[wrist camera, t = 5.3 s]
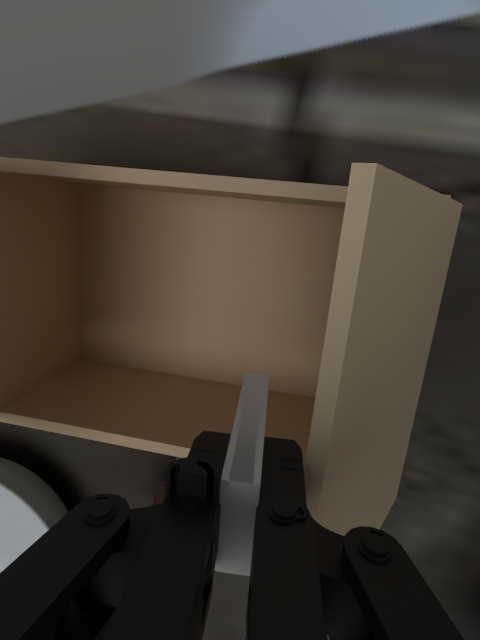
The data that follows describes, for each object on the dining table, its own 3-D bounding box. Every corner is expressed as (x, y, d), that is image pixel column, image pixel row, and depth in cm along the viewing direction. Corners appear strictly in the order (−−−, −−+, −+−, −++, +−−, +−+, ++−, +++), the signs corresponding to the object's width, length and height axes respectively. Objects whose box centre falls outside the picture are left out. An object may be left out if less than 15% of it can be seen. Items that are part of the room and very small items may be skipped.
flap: (386, 493, 25) (396, 498, 25) (269, 691, 14) (285, 704, 14) (449, 203, 21) (462, 204, 20) (351, 163, 10) (377, 163, 9)
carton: (364, 410, 37) (384, 498, 25) (78, 362, 41) (-14, 418, 30) (403, 203, 32) (450, 195, 21) (77, 174, 36) (-34, 154, 25)
